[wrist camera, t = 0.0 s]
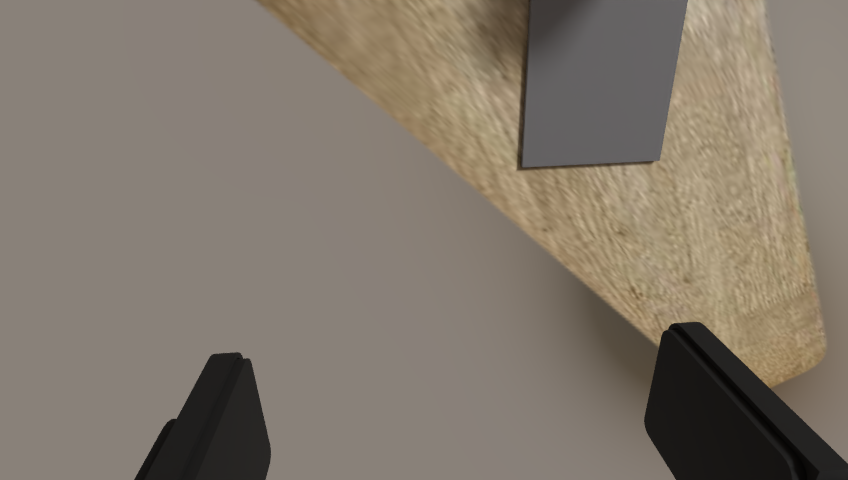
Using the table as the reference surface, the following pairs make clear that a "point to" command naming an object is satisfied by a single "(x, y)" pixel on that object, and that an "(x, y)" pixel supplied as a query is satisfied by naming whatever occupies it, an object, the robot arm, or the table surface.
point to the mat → (599, 80)
